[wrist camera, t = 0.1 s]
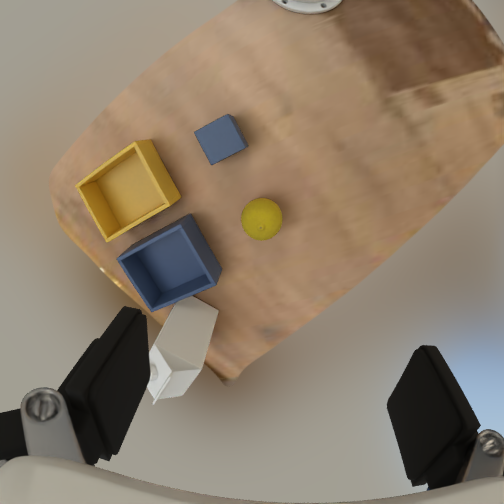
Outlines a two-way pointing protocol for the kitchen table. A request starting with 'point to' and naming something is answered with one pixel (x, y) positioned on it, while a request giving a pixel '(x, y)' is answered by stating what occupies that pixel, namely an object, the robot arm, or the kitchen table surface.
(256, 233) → the lemon
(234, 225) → the kitchen table surface
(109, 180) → the yellow bin
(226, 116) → the blue block
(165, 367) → the milk carton
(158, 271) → the blue bin
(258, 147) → the kitchen table surface
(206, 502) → the robot arm
